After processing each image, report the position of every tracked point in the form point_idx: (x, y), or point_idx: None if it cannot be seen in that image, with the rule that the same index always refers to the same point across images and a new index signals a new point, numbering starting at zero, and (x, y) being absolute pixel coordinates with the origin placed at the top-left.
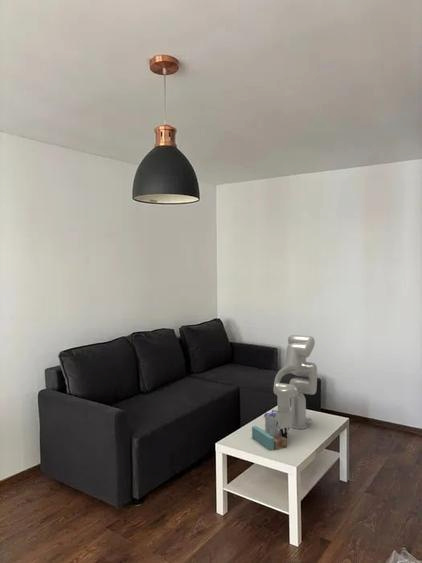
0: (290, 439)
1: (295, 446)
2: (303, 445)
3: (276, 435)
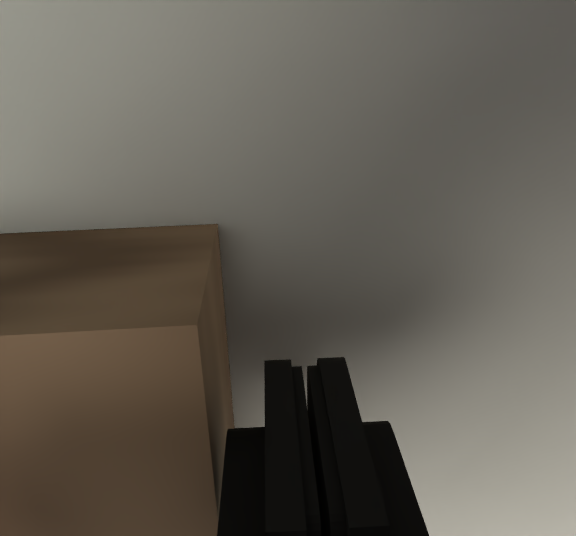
0: (571, 215)
1: None
2: (550, 525)
3: (48, 384)
